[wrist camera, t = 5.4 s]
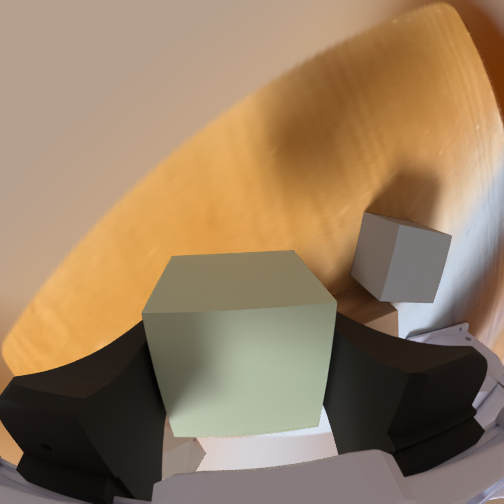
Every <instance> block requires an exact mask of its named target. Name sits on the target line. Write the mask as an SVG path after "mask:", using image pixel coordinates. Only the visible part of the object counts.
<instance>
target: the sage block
mask: <svg viewBox="0 0 504 504" xmlns="http://www.w3.org/2000/svg"><path fill="white" fill-rule="evenodd" d="M336 309H337V301H336V300H335V299H334V297H333V296H332V295H331V294H330V293H329V291H328V290H327V289H326V288H325V287H324V285H323V284H322V283H321V282H320V281H319V279H318V278H317V277H316V276H315V275H314V273H313V272H312V271H311V270H310V269H309V268H308V266H307V265H306V264H305V263H304V262H303V260H302V259H301V258H300V257H299V256H298V255H297V253H296V252H295V251H294V250H289V251H268V252H247V253H227V254H206V255H185V256H172V257H171V259H170V261H169V263H168V264H167V266H166V268H165V270H164V272H163V274H162V275H161V277H160V279H159V281H158V283H157V285H156V286H155V288H154V290H153V292H152V294H151V296H150V298H149V300H148V301H147V303H146V305H145V307H144V309H143V311H142V318H143V323H144V328H145V333H146V337H147V342H148V346H149V350H150V354H151V359H152V363H153V367H154V370H155V374H156V378H157V382H158V385H159V389H160V392H161V396H162V399H163V403H164V406H165V409H166V413H167V416H168V419H169V422H170V425H171V428H172V431H173V434H174V437H229V436H246V435H258V434H268V433H277V432H285V431H293V430H299V429H306V428H312V427H317V426H318V425H319V420H320V415H321V410H322V405H323V400H324V394H325V388H326V382H327V376H328V370H329V364H330V357H331V350H332V342H333V335H334V327H335V318H336Z"/></svg>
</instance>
